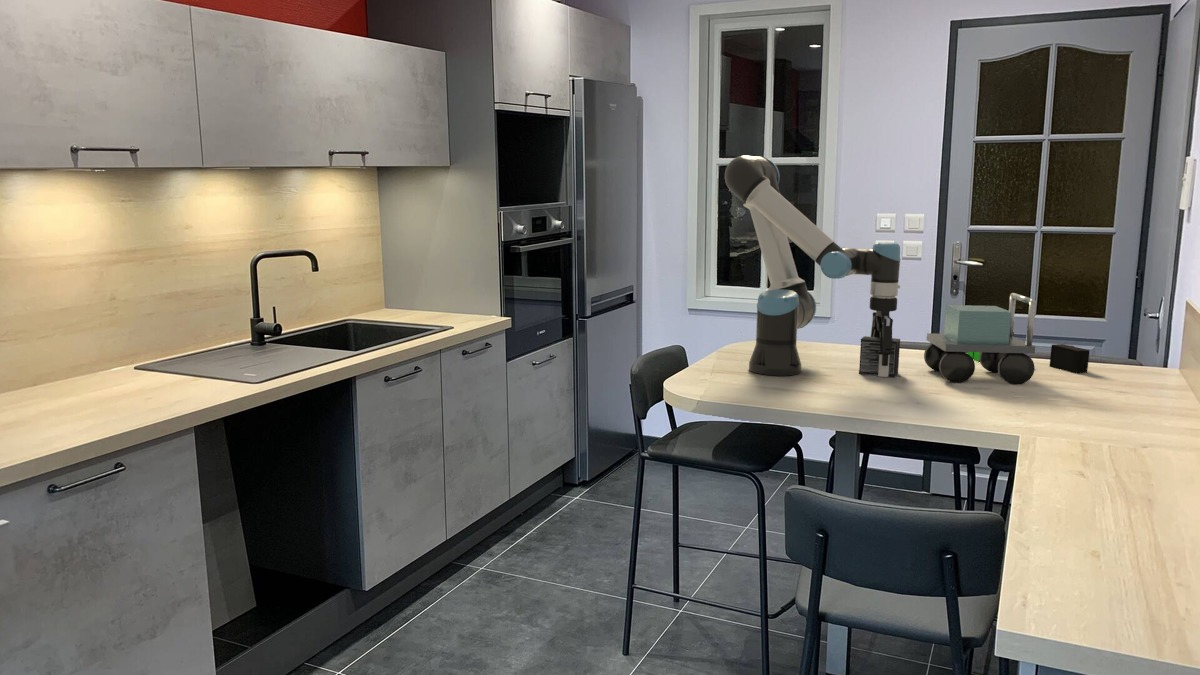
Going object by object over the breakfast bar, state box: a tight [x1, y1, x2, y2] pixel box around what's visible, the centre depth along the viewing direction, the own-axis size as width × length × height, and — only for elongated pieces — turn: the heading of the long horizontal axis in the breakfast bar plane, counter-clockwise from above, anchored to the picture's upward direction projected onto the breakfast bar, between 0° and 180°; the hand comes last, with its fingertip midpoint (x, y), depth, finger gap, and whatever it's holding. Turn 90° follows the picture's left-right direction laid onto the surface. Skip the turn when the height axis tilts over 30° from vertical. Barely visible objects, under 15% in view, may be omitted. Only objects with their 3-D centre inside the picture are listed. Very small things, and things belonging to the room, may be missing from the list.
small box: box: [858, 335, 901, 378], centre depth 257 cm, size 11×6×10 cm, turn 65°
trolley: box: [923, 292, 1037, 386], centre depth 252 cm, size 25×18×24 cm
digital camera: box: [1049, 343, 1090, 375], centre depth 265 cm, size 10×5×7 cm, turn 16°
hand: (879, 372), depth 258 cm, fingers open, 9 cm apart
